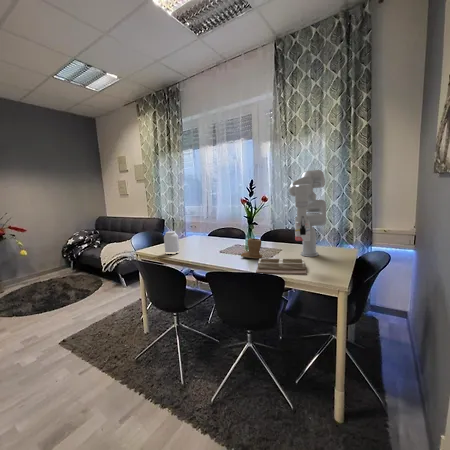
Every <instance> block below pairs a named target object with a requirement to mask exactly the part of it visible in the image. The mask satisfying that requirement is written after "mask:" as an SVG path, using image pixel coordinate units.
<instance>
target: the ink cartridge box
mask: <svg viewBox="0 0 450 450" xmlns="http://www.w3.org/2000/svg"><path fill="white" fill-rule="evenodd" d="M294 219H295V220H294V226H295V227H294V234H295V235H294V236H295V237H294V239H295V241H296V242H303V241H310V222H309V217H308V216H307V217H306V223H305V228H306V235H300V223H299V224H298V222H297V216H295V217H294ZM301 223H302V222H301ZM301 225H302V224H301Z"/></svg>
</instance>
